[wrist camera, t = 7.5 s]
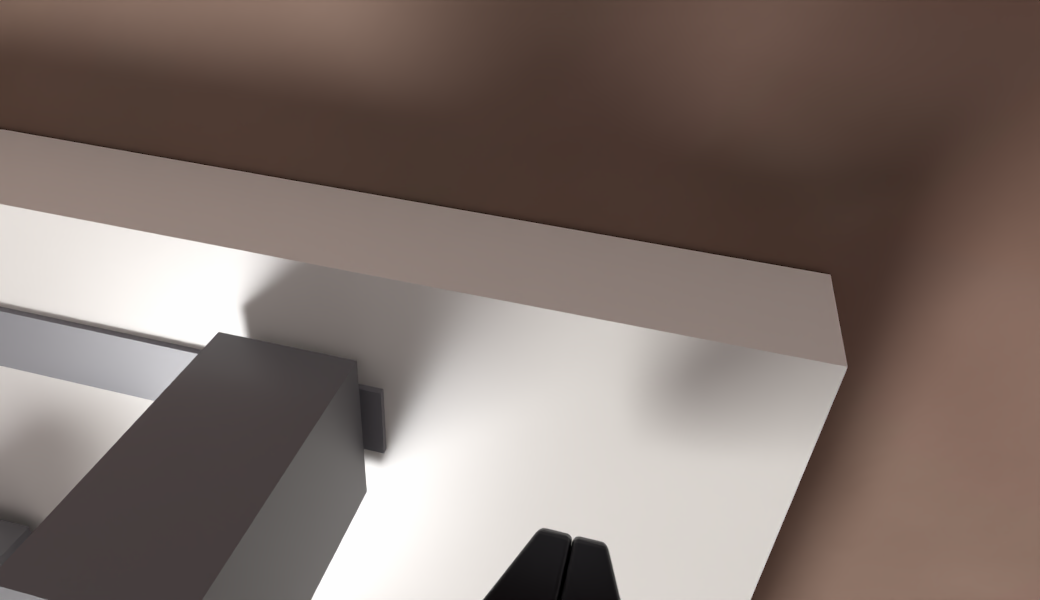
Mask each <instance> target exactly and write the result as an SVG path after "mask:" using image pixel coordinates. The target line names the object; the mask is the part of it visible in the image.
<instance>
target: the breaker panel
mask: <svg viewBox="0 0 1040 600" xmlns="http://www.w3.org/2000/svg"><path fill="white" fill-rule="evenodd" d="M218 332H222V333H227V334H232V335H236V336H241V337H246V338H251V339H255V340H260V341H265V342H270V343H274V344H279V345H284V346H289V347H293V348H298V349H303V350H308V351H312V352H317V353H322V354H327V355H331V356H336V357H341V358H346V359H350V360H355V361H357V369H358V382H359V395H360V408H361V421H362V434H363V447H364V460H365V473H366V486H367V493H366V494H365V496H364V498H363V500H362V502H361V504H360V506H359V508H358V510H357V512H356V514H355V516H354V518H353V520H352V522H351V524H350V525H349V527H348V529H347V531H346V533H345V535H344V537H343V539H342V541H341V543H340V545H339V547H338V549H337V551H336V553H335V555H334V557H333V558H332V560H331V562H330V564H329V566H328V568H327V570H326V572H325V574H324V576H323V578H322V580H321V582H320V584H319V586H318V588H317V589H316V591H315V593H314V595H313V597H312V599H311V600H483V599H484V597H485V596H486V595H487V594H488V592H489V591H490V590H491V589H492V587H493V586H494V585H495V583H496V582H497V581H498V580H499V578H500V577H501V576H502V575H503V573H504V572H505V571H506V570H507V568H508V567H509V566H510V564H511V563H512V562H513V561H514V559H515V558H516V557H517V556H518V554H519V553H520V552H521V550H522V549H523V548H524V547H525V545H526V544H527V543H528V542H529V540H530V539H531V538H532V537H533V535H534V534H535V533H536V532H537V531H538V530H539V529H541V528H548V529H552V530H556V531H560V532H564V533H568V534H569V535H570V536H571V537H572V541H573V539H574V538H575V537H577V536H581V537H585V538H590V539H594V540H598V541H602V542H604V543H605V544H606V545H607V547H608V549H609V553H610V557H611V561H612V565H613V570H614V574H615V578H616V582H617V587H618V591H619V595H620V599H621V600H751V598H752V595H753V593H754V590H755V588H756V586H757V583H758V581H759V578H760V576H761V574H762V571H763V569H764V566H765V564H766V562H767V559H768V557H769V554H770V552H771V550H772V547H773V545H774V542H775V540H776V538H777V535H778V533H779V530H780V528H781V526H782V523H783V521H784V518H785V516H786V514H787V511H788V509H789V506H790V504H791V502H792V499H793V497H794V494H795V492H796V490H797V487H798V485H799V482H800V480H801V478H802V475H803V473H804V470H805V468H806V466H807V463H808V461H809V458H810V456H811V454H812V451H813V449H814V447H815V444H816V442H817V439H818V437H819V435H820V432H821V430H822V427H823V425H824V423H825V420H826V418H827V415H828V413H829V411H830V408H831V406H832V403H833V401H834V399H835V396H836V394H837V391H838V389H839V387H840V384H841V382H842V379H843V377H844V375H845V372H846V370H847V367H848V366H847V361H846V355H845V350H844V344H843V339H842V334H841V328H840V323H839V318H838V312H837V307H836V301H835V296H834V291H833V285H832V280H831V275H830V274H824V273H818V272H813V271H807V270H801V269H795V268H790V267H784V266H778V265H773V264H767V263H761V262H756V261H750V260H744V259H738V258H733V257H727V256H721V255H716V254H710V253H704V252H698V251H693V250H687V249H681V248H676V247H670V246H664V245H659V244H653V243H647V242H641V241H636V240H630V239H624V238H619V237H613V236H607V235H602V234H596V233H590V232H584V231H579V230H573V229H567V228H562V227H556V226H550V225H545V224H539V223H533V222H527V221H522V220H516V219H510V218H505V217H499V216H493V215H488V214H482V213H476V212H470V211H465V210H459V209H453V208H448V207H442V206H436V205H431V204H425V203H419V202H413V201H408V200H402V199H396V198H391V197H385V196H379V195H373V194H368V193H362V192H356V191H351V190H345V189H339V188H334V187H328V186H322V185H316V184H311V183H305V182H299V181H294V180H288V179H282V178H277V177H271V176H265V175H259V174H254V173H248V172H242V171H237V170H231V169H225V168H220V167H214V166H208V165H202V164H197V163H191V162H185V161H180V160H174V159H168V158H163V157H157V156H151V155H145V154H140V153H134V152H128V151H123V150H117V149H111V148H105V147H100V146H94V145H88V144H83V143H77V142H71V141H66V140H60V139H54V138H48V137H43V136H37V135H31V134H26V133H20V132H14V131H9V130H3V129H0V519H1V520H4V521H8V522H12V523H16V524H20V525H23V526H27V527H29V528H30V530H31V532H33V531H34V530H35V529H36V528H37V527H38V526H39V525H40V524H41V523H42V521H43V520H44V519H45V518H46V517H47V516H48V515H49V514H50V513H51V512H52V511H53V510H54V509H55V507H56V506H57V505H58V504H59V503H60V502H61V501H62V500H63V499H64V498H65V497H66V496H67V495H68V493H69V492H70V491H71V490H72V489H73V488H74V487H75V486H76V485H77V484H78V483H79V482H80V481H81V479H82V478H83V477H84V476H85V475H86V474H87V473H88V472H89V471H90V470H91V469H92V468H93V467H94V465H95V464H96V463H97V462H98V461H99V460H100V459H101V458H102V457H103V456H104V455H105V454H106V453H107V451H108V450H109V449H110V448H111V447H112V446H113V445H114V444H115V443H116V442H117V441H118V440H119V439H120V437H121V436H122V435H123V434H124V433H125V432H126V431H127V430H128V429H129V428H130V427H131V426H132V425H133V423H134V422H135V421H136V420H137V419H138V418H139V417H140V416H141V415H142V414H143V413H144V412H145V411H146V410H147V408H148V407H149V406H150V405H151V404H152V403H153V402H154V401H155V400H156V399H157V398H158V397H159V396H160V394H161V393H162V392H163V391H164V390H165V389H166V388H167V387H168V386H169V385H170V384H171V383H172V382H173V380H174V379H175V378H176V377H177V376H178V375H179V374H180V373H181V372H182V371H183V370H184V369H185V368H186V366H187V365H188V364H189V363H190V362H191V361H192V360H193V359H194V358H195V357H196V356H197V355H198V354H199V352H200V351H201V350H202V349H203V348H204V347H205V346H206V345H207V344H208V343H209V342H210V341H211V340H212V338H213V337H214V336H215V335H216V334H217V333H218Z"/></svg>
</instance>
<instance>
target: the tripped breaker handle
mask: <svg viewBox="0 0 1040 600" xmlns="http://www.w3.org/2000/svg"><path fill="white" fill-rule="evenodd" d="M366 493H367V486H366V473H365V460H364V447H363V434H362V421H361V408H360V395H359V382H358V369H357V361H355V360H350V359H346V358H341V357H336V356H331V355H327V354H322V353H317V352H312V351H308V350H303V349H298V348H293V347H289V346H284V345H279V344H274V343H270V342H265V341H260V340H255V339H251V338H246V337H241V336H236V335H232V334H227V333H222V332H218V333H217V334H216V335H215V336H214V337H213V338H212V340H211V341H210V342H209V343H208V344H207V345H206V346H205V347H204V348H203V349H202V350H201V351H200V352H199V354H198V355H197V356H196V357H195V358H194V359H193V360H192V361H191V362H190V363H189V364H188V365H187V366H186V368H185V369H184V370H183V371H182V372H181V373H180V374H179V375H178V376H177V377H176V378H175V379H174V380H173V382H172V383H171V384H170V385H169V386H168V387H167V388H166V389H165V390H164V391H163V392H162V393H161V394H160V396H159V397H158V398H157V399H156V400H155V401H154V402H153V403H152V404H151V405H150V406H149V407H148V408H147V410H146V411H145V412H144V413H143V414H142V415H141V416H140V417H139V418H138V419H137V420H136V421H135V422H134V423H133V425H132V426H131V427H130V428H129V429H128V430H127V431H126V432H125V433H124V434H123V435H122V436H121V437H120V439H119V440H118V441H117V442H116V443H115V444H114V445H113V446H112V447H111V448H110V449H109V450H108V451H107V453H106V454H105V455H104V456H103V457H102V458H101V459H100V460H99V461H98V462H97V463H96V464H95V465H94V467H93V468H92V469H91V470H90V471H89V472H88V473H87V474H86V475H85V476H84V477H83V478H82V479H81V481H80V482H79V483H78V484H77V485H76V486H75V487H74V488H73V489H72V490H71V491H70V492H69V493H68V495H67V496H66V497H65V498H64V499H63V500H62V501H61V502H60V503H59V504H58V505H57V506H56V507H55V509H54V510H53V511H52V512H51V513H50V514H49V515H48V516H47V517H46V518H45V519H44V520H43V521H42V523H41V524H40V525H39V526H38V527H37V528H36V529H35V530H34V531H33V532H32V533H31V534H30V535H29V537H28V538H27V539H26V540H25V541H24V542H23V543H22V544H21V545H20V546H19V547H18V548H17V549H16V551H15V552H14V553H13V554H12V555H11V556H10V557H9V558H8V559H7V560H6V561H5V562H4V563H3V565H2V566H1V567H0V600H311V599H312V597H313V595H314V593H315V591H316V589H317V588H318V586H319V584H320V582H321V580H322V578H323V576H324V574H325V572H326V570H327V568H328V566H329V564H330V562H331V560H332V558H333V557H334V555H335V553H336V551H337V549H338V547H339V545H340V543H341V541H342V539H343V537H344V535H345V533H346V531H347V529H348V527H349V525H350V524H351V522H352V520H353V518H354V516H355V514H356V512H357V510H358V508H359V506H360V504H361V502H362V500H363V498H364V496H365V494H366Z"/></svg>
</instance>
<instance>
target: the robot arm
mask: <svg viewBox="0 0 1040 600" xmlns="http://www.w3.org/2000/svg"><path fill="white" fill-rule="evenodd" d="M483 600H621V599H620V595H619V591H618V587H617V582H616V578H615V574H614V570H613V565H612V561H611V557H610V553H609V549H608V547H607V545H606V544H605V543H604V542H602V541H598V540H594V539H590V538H585V537H581V536H577V537H575V538H574V539H573V541H572V537H571V536H570V535H569V534H568V533H564V532H560V531H556V530H552V529H548V528H541V529H539V530H538V531H537V532H536V533H535V534H534V535H533V537H532V538H531V539H530V540H529V542H528V543H527V544H526V545H525V547H524V548H523V549H522V550H521V552H520V553H519V554H518V556H517V557H516V558H515V559H514V561H513V562H512V563H511V564H510V566H509V567H508V568H507V570H506V571H505V572H504V573H503V575H502V576H501V577H500V578H499V580H498V581H497V582H496V583H495V585H494V586H493V587H492V589H491V590H490V591H489V592H488V594H487V595H486V596H485V597H484V599H483Z"/></svg>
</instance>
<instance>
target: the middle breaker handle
mask: <svg viewBox="0 0 1040 600" xmlns="http://www.w3.org/2000/svg"><path fill="white" fill-rule="evenodd" d="M31 533H32V532H31V530H30V528H29V527H27V526H23V525H20V524H16V523H12V522H8V521H4V520H1V519H0V567H1V566H2V565H3V563H4V562H5V561H6V560H7V559H8V558H9V557H10V556H11V555H12V554H13V553H14V552H15V551H16V549H17V548H18V547H19V546H20V545H21V544H22V543H23V542H24V541H25V540H26V539H27V538H28V537H29V535H30V534H31Z"/></svg>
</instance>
